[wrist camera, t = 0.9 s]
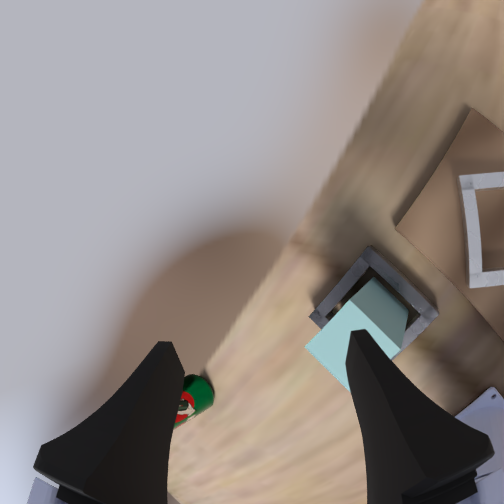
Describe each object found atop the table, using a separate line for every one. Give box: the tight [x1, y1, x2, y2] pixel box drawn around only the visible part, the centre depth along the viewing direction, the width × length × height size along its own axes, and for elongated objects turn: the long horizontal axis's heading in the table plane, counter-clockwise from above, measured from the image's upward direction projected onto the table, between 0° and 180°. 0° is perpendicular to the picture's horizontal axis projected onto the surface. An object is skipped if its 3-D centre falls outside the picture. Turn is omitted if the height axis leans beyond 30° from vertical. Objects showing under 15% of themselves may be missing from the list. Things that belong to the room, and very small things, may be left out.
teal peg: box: [305, 277, 409, 392], centre depth 17 cm, size 4×4×8 cm
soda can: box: [173, 374, 214, 430], centre depth 28 cm, size 5×5×12 cm
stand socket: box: [309, 245, 439, 361], centre depth 20 cm, size 8×8×2 cm
